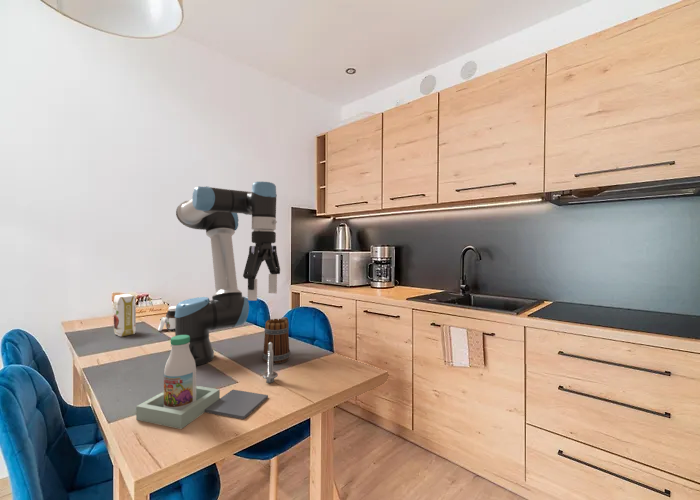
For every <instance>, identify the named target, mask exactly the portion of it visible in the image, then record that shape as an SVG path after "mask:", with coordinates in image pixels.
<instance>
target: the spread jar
mask: <svg viewBox="0 0 700 500" xmlns="http://www.w3.org/2000/svg"><path fill="white" fill-rule="evenodd" d="M176 306H177V305H172V306H169V307H168V311H167V312H166V315H165V317H164V316H162V317H161V320H160V323H159V325H158V329H157V330H158V331H159V332H162V330H163V329H164V325H165V328H166V330H167V331H168V332H175V310H176Z"/></svg>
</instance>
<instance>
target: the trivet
mask: <svg viewBox="0 0 700 500" xmlns="http://www.w3.org/2000/svg"><path fill="white" fill-rule="evenodd" d="M268 398H269V395H268V394H263V393H258V392H251V391H250V392H249V391H243V390H238V389H232V390H230V391H229V392H227V393H225V394H224V395H223V396H220V399H219V400H217V401H216V402H214V403H213V404H211V405H210V406H209V407H207V408H206V409H205V412H204V413H208V414H210V415H211V414H213V415H216V416H217V415H218V416H223V417H228V418H234V419H241V420H246V418H247V417H249V415H251V414H252V413H253V412H254V411H255V410H256V409H257V408H258V407H260V406H261V405H262V404H263V403H264V402H265V401H267V399H268Z"/></svg>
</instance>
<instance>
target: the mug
mask: <svg viewBox="0 0 700 500" xmlns="http://www.w3.org/2000/svg"><path fill="white" fill-rule="evenodd" d="M289 324H290V322H289V318H288V317H286V316H282V317H281V318H274V319H273V318H271V319H268V320H266V321H265V326H264V341H263V351H262V360H263V361H264V362H265V363H267V364H268V361H267V360H268V344H269V343H270V342H271V343H272V350H273V365H275V364H277V365H278V364H282V363H286V362H287V361H289V360H290V357H291V350H290V340H289V338H290V337H289V331H290V330H289V329H290V328H289V327H290V325H289Z"/></svg>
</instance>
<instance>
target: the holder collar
mask: <svg viewBox="0 0 700 500" xmlns="http://www.w3.org/2000/svg"><path fill="white" fill-rule="evenodd" d="M220 391H221V390H220V389H219V388H213V387H205V386H202V385H201V386H200V385H196V401H195V402H194V403H192V404H191V405H189V406H188V407H186V408H185V409H183V410H182V411H180V410H174V409H169V408H164V391H162V392H160V393H158V394H157V395H154V396H153V397H151V398H149V399H147V400H146V401H143V402H142V403H140V404H138V405H136V406H135V408H136V409H135V410H136V411H135V412H136V417H135V419H136V420H137V421H141V422H145V423H151V424H155V425H159V426H166V427H169V428H175V429H180V430H182V429H183V428H185V427H186V426H187V425H189V424H190V423H192V422H193V421H195V420H196V419H197V418H199V417H200V416H202V415H203V414H205V413H206V412H205V409H206V408H207V407H209V406H210V405H211V404H213V403H214V402H216V401H217V400H219V399H220V398H221V396H220Z"/></svg>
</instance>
